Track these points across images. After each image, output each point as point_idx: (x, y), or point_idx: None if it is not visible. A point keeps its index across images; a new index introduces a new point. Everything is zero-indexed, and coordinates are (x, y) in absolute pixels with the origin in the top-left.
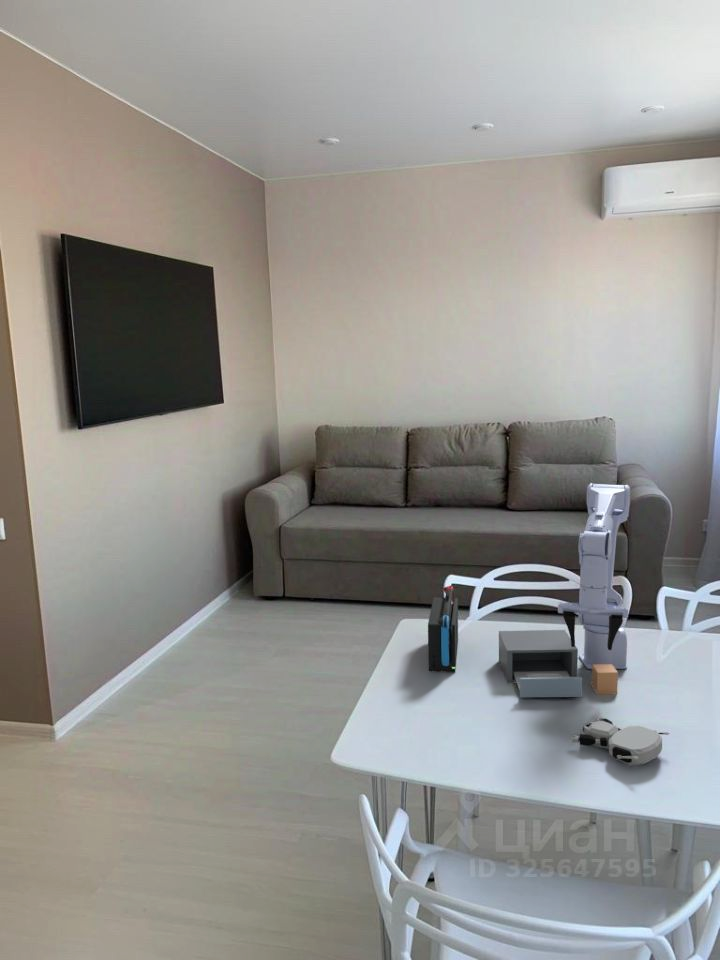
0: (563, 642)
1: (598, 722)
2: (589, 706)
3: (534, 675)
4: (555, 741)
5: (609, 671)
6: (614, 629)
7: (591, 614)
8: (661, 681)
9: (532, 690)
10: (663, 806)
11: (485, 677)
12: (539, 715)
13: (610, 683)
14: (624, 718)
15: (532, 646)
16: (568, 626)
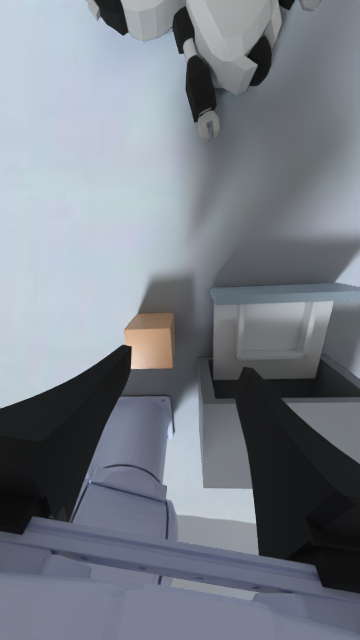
0: (226, 437)
1: (239, 22)
2: (201, 259)
3: (289, 353)
4: (334, 62)
5: (141, 334)
6: (62, 396)
7: (181, 544)
8: (56, 356)
9: (322, 286)
10: None
11: (356, 373)
12: (317, 214)
13: (145, 319)
14: (143, 204)
15: (312, 420)
16: (323, 439)
